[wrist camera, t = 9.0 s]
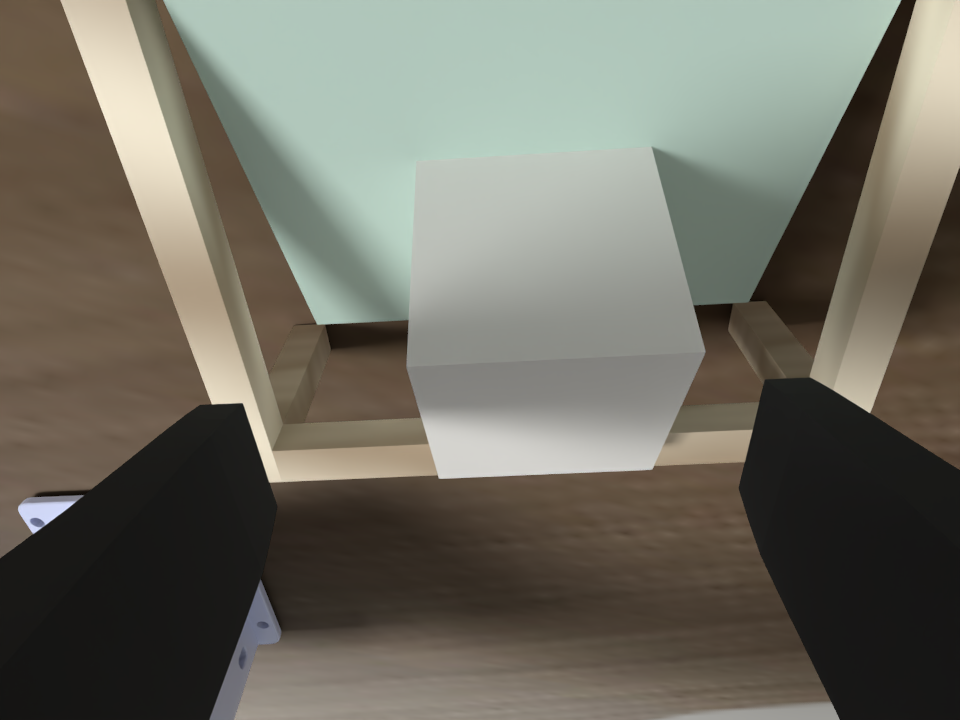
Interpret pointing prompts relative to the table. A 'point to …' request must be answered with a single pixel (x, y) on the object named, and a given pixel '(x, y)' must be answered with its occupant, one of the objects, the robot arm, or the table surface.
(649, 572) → the table surface
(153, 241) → the trapdoor frame
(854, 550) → the robot arm
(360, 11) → the trapdoor
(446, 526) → the table surface
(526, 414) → the white cube
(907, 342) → the table surface
